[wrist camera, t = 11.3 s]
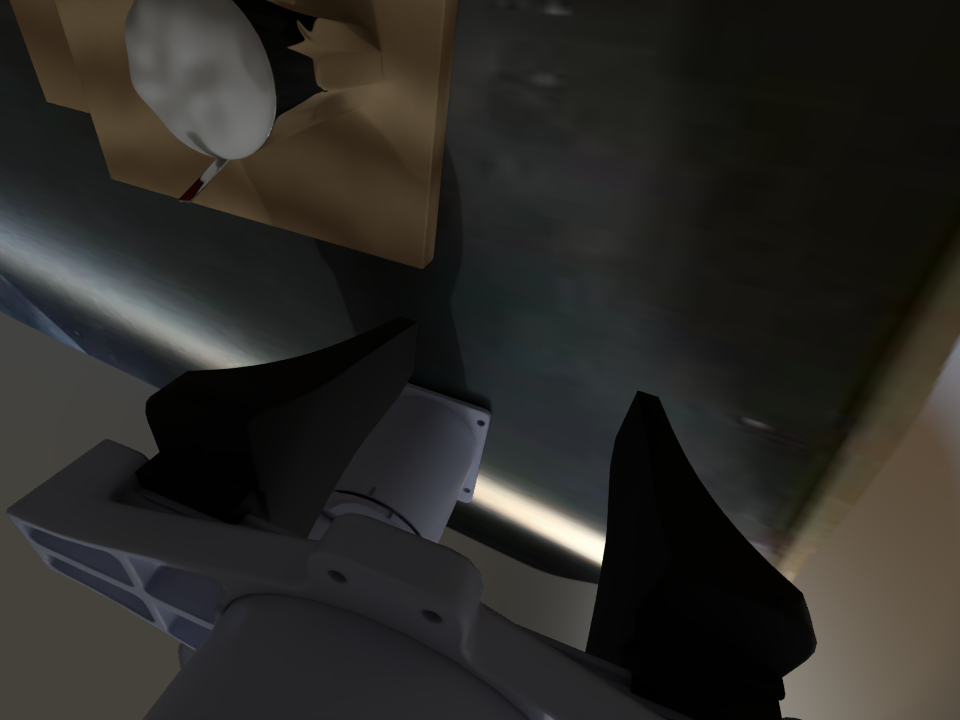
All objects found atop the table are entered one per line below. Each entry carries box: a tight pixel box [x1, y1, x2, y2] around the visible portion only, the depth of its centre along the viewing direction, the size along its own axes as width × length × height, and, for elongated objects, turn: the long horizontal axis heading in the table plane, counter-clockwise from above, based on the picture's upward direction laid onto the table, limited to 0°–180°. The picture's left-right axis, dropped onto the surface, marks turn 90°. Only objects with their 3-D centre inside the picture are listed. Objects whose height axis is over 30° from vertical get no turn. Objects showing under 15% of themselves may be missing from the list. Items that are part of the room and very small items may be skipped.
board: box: [10, 0, 458, 269], centre depth 23 cm, size 12×23×2 cm, turn 81°
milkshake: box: [125, 0, 383, 203], centre depth 16 cm, size 5×5×10 cm
